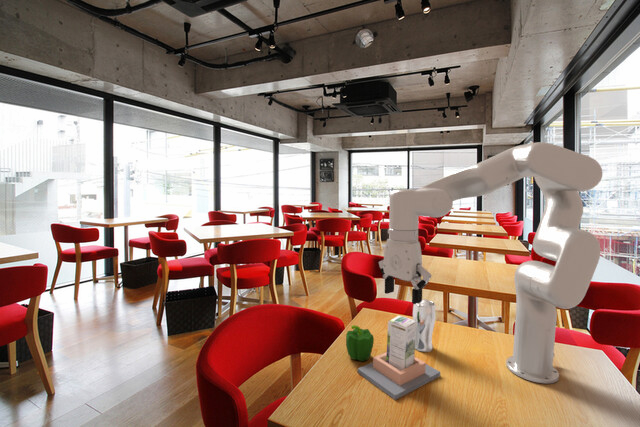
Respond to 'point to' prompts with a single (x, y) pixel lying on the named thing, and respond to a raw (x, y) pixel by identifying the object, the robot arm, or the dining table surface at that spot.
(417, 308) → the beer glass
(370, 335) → the bell pepper
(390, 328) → the syrup box
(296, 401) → the dining table surface
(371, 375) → the socket board
